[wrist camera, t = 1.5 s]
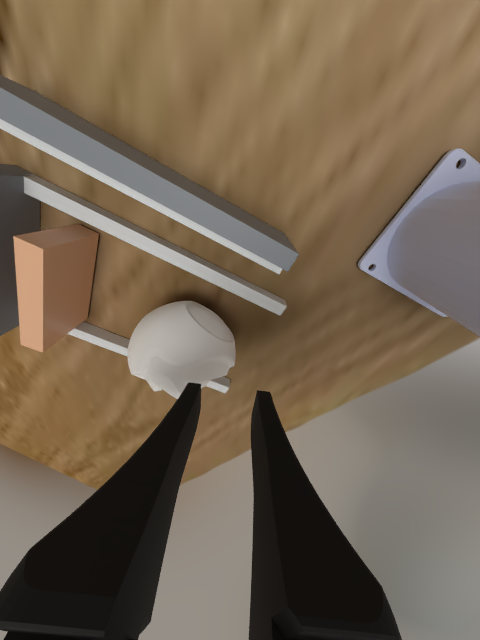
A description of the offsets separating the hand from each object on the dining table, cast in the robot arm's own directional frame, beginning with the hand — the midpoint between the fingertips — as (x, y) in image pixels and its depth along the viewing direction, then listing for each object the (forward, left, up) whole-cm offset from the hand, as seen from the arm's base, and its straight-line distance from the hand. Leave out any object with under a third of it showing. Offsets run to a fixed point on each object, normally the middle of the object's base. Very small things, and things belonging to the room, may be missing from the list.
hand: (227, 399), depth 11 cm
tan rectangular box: (+13, +3, -9) cm, 16 cm away
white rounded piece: (+3, +3, -10) cm, 10 cm away
